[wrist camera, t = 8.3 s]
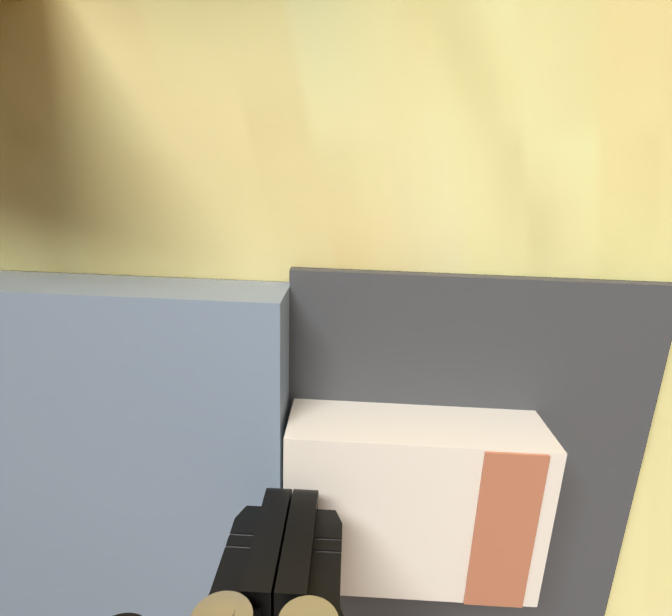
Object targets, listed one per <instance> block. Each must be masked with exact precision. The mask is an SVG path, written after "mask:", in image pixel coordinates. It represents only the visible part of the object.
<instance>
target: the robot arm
mask: <svg viewBox="0 0 672 616" xmlns="http://www.w3.org/2000/svg"><path fill="white" fill-rule="evenodd" d="M318 500H319V491H318V490H305V489H294V490H293V494H292V489H283V488H266V491H265V495H264V498H263V502H262V506H246V507H245V508H244V509H243V510H242V511H241V512H240V513H239V514H238V515H237V516H236V517H235V519H234V522H233V525H232V528H231V531H230V536H229V537H228V540H227V543H226V547H225V549H224V552H223V555H222V557H221V560H220V563H219V566H218V569H217V572H216V575H215V578H214V581H213V584H212V587H211V590H210V593H209V595H208V596H207V597H205V598H204V599H203V600H201V601H200V602H199V603H198V604H197V605H196V607H195V608H194V610H193V612H192V614H191V615H190V616H344V615H343V613H342V610H341V606H340V584H341V552H342V522H341V520H340V518H339V516H338V514H337V512H336V510H325V509H318ZM113 616H141V615H139V614H136V613H121V614H117V615H113Z"/></svg>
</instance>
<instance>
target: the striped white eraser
mask: <svg viewBox="0 0 672 616" xmlns="http://www.w3.org/2000/svg"><path fill="white" fill-rule="evenodd" d="M566 459H567V453H566V451H565V450H564V449H563V447H562V446H561V444H560V443H559V442H558V440H557V439H556V438H555V436H554V435H553V434H552V432H551V431H550V430H549V428H548V427H547V426H546V424H545V423H544V422H543V420H542V419H541V418H540V416H539V415H538V413H537V412H536V411H533V410H513V409H493V408H474V407H454V406H434V405H414V404H395V403H375V402H355V401H335V400H316V399H296V398H294V400H293V404H292V408H291V412H290V416H289V420H288V423H287V427H286V431H285V435H284V439H283V489H292V494H293V490H294V489H305V490H318V491H319V500H318V509H325V510H336V512H337V514H338V516H339V518H340V520H341V522H342V552H341V584H340V595H341V596H357V597H374V598H391V599H407V600H424V601H440V602H457V603H464V604H466V605H482V606H499V607H516V608H522V606H523V607H537V605H538V600H539V595H540V590H541V585H542V580H543V575H544V570H545V565H546V560H547V555H548V549H549V544H550V539H551V534H552V529H553V524H554V519H555V514H556V509H557V504H558V499H559V494H560V489H561V484H562V479H563V474H564V469H565V464H566Z"/></svg>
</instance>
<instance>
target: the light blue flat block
mask: <svg viewBox="0 0 672 616" xmlns="http://www.w3.org/2000/svg"><path fill="white" fill-rule="evenodd" d="M289 294H290V282H272V281H247V280H223V279H198V278H174V277H150V276H125V275H101V274H77V273H52V272H28V271H4V270H0V616H113V615H117V614H121V613H136V614H139V615H141V616H190V615H191V614H192V612H193V610H194V608H195V607H196V605H197V604H198V603H199V602H200V601H201V600H203V599H204V598H205V597H207V596H208V595H209V593H210V590H211V587H212V584H213V581H214V578H215V575H216V572H217V569H218V566H219V563H220V560H221V557H222V555H223V552H224V549H225V547H226V543H227V540H228V537H229V536H230V531H231V528H232V525H233V522H234V519H235V517H236V516H237V515H238V514H239V513H240V512H241V511H242V510H243V509H244V508H245V507H246V506H262V502H263V498H264V495H265V491H266V488H283V439H284V435H285V431H286V427H287V423H288V420H289Z"/></svg>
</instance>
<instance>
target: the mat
mask: <svg viewBox="0 0 672 616" xmlns="http://www.w3.org/2000/svg"><path fill="white" fill-rule="evenodd" d="M671 341H672V282H651V281H626V280H601V279H576V278H551V277H526V276H502V275H477V274H452V273H427V272H402V271H377V270H353V269H328V268H303V267H291V269H290V294H289V416H290V412H291V408H292V404H293V400H294V398H296V399H316V400H335V401H355V402H375V403H395V404H414V405H434V406H454V407H474V408H493V409H513V410H533V411H536V412H537V413H538V415H539V416H540V418H541V419H542V420H543V422H544V423H545V424H546V426H547V427H548V428H549V430H550V431H551V432H552V434H553V435H554V436H555V438H556V439H557V440H558V442H559V443H560V444H561V446H562V447H563V449H564V450H565V451H566V453H567V459H566V464H565V469H564V474H563V479H562V484H561V489H560V494H559V499H558V504H557V509H556V514H555V519H554V524H553V529H552V534H551V539H550V544H549V549H548V555H547V560H546V565H545V570H544V575H543V580H542V585H541V590H540V595H539V600H538V605H537V607H523V606H522V608H516V607H499V606H482V605H466V604H464V603H457V602H440V601H424V600H407V599H391V598H374V597H357V596H341V595H340V606H341V610H342V613H343V615H344V616H604V614H605V610H606V606H607V602H608V598H609V594H610V590H611V586H612V582H613V578H614V573H615V569H616V565H617V561H618V557H619V553H620V549H621V545H622V541H623V537H624V533H625V529H626V524H627V520H628V516H629V512H630V508H631V504H632V500H633V496H634V492H635V488H636V484H637V480H638V475H639V471H640V467H641V463H642V459H643V455H644V451H645V447H646V443H647V439H648V435H649V431H650V426H651V422H652V418H653V414H654V410H655V406H656V402H657V398H658V394H659V390H660V386H661V382H662V377H663V373H664V369H665V365H666V361H667V357H668V353H669V349H670V345H671Z"/></svg>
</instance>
